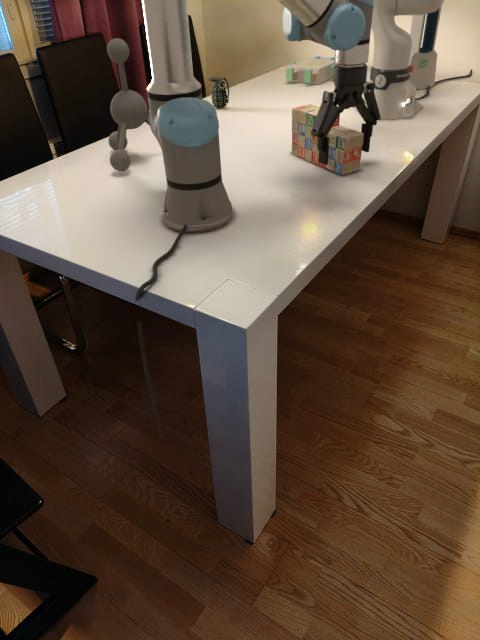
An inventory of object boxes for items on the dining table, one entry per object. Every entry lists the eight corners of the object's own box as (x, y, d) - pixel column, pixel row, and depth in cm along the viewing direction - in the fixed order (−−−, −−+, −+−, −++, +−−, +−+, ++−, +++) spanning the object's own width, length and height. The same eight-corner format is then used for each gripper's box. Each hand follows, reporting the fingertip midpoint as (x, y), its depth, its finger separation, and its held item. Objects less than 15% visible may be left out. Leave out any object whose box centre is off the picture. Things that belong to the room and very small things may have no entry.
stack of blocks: (360, 170, 124) (365, 120, 117) (341, 176, 122) (345, 125, 114) (308, 148, 139) (310, 103, 132) (290, 153, 137) (291, 107, 129)
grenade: (209, 109, 176) (207, 79, 170) (214, 105, 180) (212, 76, 174) (227, 110, 174) (225, 79, 168) (231, 105, 179) (229, 76, 173)
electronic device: (404, 91, 183) (418, -5, 165) (394, 86, 189) (407, -6, 171) (434, 87, 186) (451, -7, 167) (423, 83, 191) (438, -9, 173)
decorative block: (308, 54, 216) (349, 57, 207) (307, 70, 220) (348, 74, 211) (277, 65, 200) (320, 69, 191) (277, 82, 204) (319, 87, 195)
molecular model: (194, 162, 134) (180, 38, 116) (114, 177, 128) (87, 49, 110) (171, 138, 152) (156, 27, 133) (100, 151, 146) (75, 36, 127)
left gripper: (379, 53, 118) (370, 142, 131) (296, 70, 108) (295, 164, 121) (402, 57, 113) (390, 149, 126) (318, 76, 103) (314, 173, 116)
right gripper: (376, -69, 122) (370, -3, 131) (312, -65, 114) (310, 5, 123) (395, -70, 118) (387, -2, 126) (329, -66, 110) (326, 7, 118)
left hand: (344, 157), depth 124 cm, fingers open, 13 cm apart
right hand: (348, 2), depth 124 cm, fingers open, 8 cm apart
